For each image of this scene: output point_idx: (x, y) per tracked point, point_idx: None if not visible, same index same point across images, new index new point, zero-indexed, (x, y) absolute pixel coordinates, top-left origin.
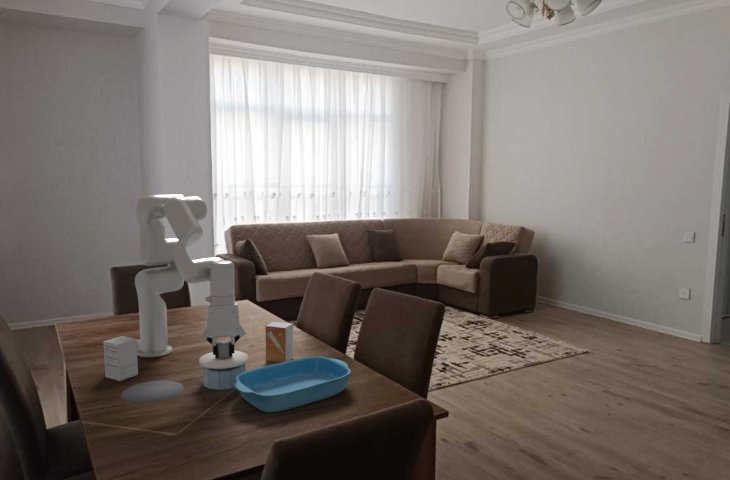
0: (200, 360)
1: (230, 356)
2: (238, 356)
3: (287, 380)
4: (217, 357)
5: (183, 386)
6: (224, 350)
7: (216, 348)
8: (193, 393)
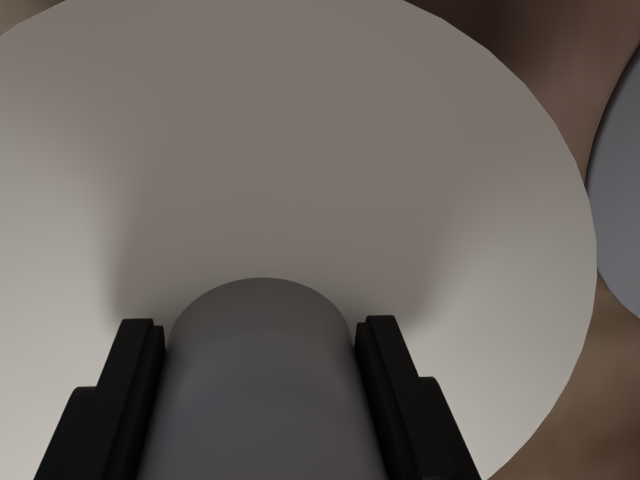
0: (578, 317)
1: (155, 326)
2: (39, 366)
3: None
4: (362, 322)
5: (593, 189)
6: (251, 381)
7: (417, 433)
8: (545, 33)
